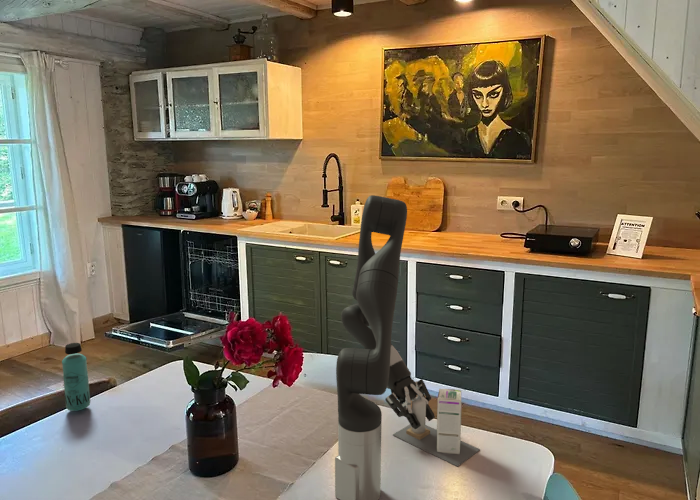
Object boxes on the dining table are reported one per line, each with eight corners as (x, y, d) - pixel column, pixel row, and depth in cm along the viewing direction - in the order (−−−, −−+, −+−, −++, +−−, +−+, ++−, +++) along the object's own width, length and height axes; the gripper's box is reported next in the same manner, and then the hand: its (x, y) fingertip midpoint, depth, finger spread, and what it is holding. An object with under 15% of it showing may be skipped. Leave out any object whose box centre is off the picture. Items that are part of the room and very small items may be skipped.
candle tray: (457, 466, 130) (459, 432, 128) (392, 435, 143) (393, 403, 141) (480, 450, 136) (481, 416, 135) (416, 421, 150) (417, 391, 148)
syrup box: (460, 455, 134) (462, 400, 131) (435, 452, 135) (437, 397, 132) (460, 442, 139) (462, 389, 136) (436, 440, 140) (438, 387, 138)
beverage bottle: (66, 407, 158) (59, 342, 154) (92, 403, 161) (85, 338, 157) (65, 418, 152) (58, 350, 148) (92, 413, 155) (85, 346, 151)
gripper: (380, 368, 140) (416, 428, 134) (415, 352, 150) (450, 408, 144) (365, 381, 145) (399, 439, 139) (399, 365, 155) (433, 419, 149)
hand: (425, 423), depth 141 cm, fingers open, 5 cm apart
